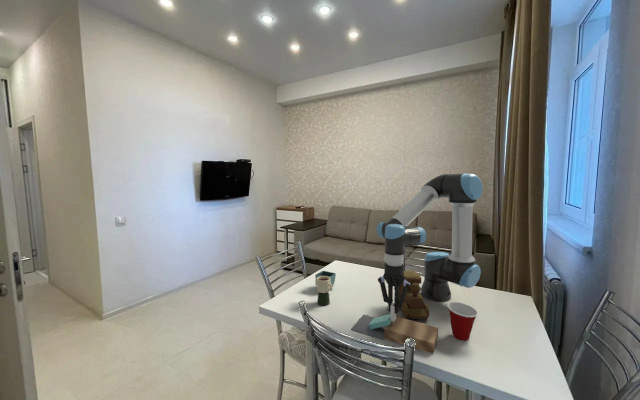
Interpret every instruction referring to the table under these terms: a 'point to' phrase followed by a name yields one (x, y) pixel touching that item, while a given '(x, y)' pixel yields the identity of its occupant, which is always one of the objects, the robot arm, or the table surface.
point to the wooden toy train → (413, 298)
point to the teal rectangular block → (380, 322)
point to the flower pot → (326, 273)
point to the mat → (364, 327)
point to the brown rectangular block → (412, 333)
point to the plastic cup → (461, 319)
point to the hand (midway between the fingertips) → (393, 319)
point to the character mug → (323, 289)
